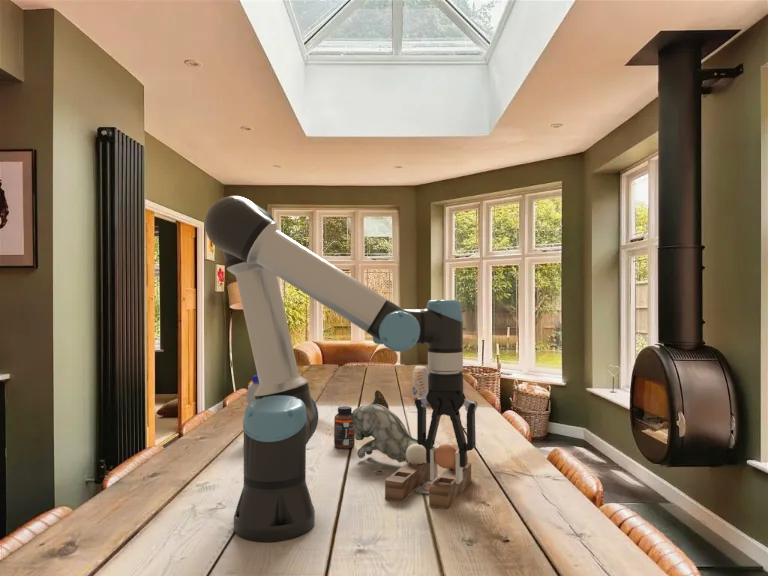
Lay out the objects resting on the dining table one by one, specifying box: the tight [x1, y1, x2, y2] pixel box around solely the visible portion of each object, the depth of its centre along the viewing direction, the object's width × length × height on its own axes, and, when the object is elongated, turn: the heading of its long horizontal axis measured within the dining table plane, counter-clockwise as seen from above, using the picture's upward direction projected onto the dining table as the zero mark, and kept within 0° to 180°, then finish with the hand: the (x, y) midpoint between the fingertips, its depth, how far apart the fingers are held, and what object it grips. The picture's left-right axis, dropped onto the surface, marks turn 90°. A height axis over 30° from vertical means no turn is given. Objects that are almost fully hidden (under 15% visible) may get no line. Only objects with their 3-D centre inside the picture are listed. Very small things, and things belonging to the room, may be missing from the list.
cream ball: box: [406, 444, 426, 465], centre depth 129 cm, size 5×5×5 cm
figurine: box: [351, 403, 426, 464], centre depth 140 cm, size 10×19×20 cm
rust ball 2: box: [451, 447, 469, 470], centre depth 125 cm, size 5×5×5 cm
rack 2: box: [428, 462, 472, 510], centre depth 121 cm, size 19×4×4 cm, turn 156°
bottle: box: [246, 374, 259, 406], centre depth 162 cm, size 7×7×20 cm
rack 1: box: [384, 460, 430, 503], centre depth 125 cm, size 19×4×4 cm, turn 156°
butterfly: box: [370, 390, 390, 410], centre depth 187 cm, size 12×10×10 cm
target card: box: [415, 480, 434, 496], centre depth 123 cm, size 7×4×1 cm, turn 156°
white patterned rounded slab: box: [412, 365, 430, 398], centre depth 224 cm, size 21×6×15 cm, turn 12°
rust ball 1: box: [435, 443, 456, 470], centre depth 117 cm, size 5×5×5 cm
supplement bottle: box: [333, 405, 356, 450], centre depth 157 cm, size 6×6×11 cm
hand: (446, 479), depth 117 cm, fingers closed on rust ball 1, 5 cm apart
